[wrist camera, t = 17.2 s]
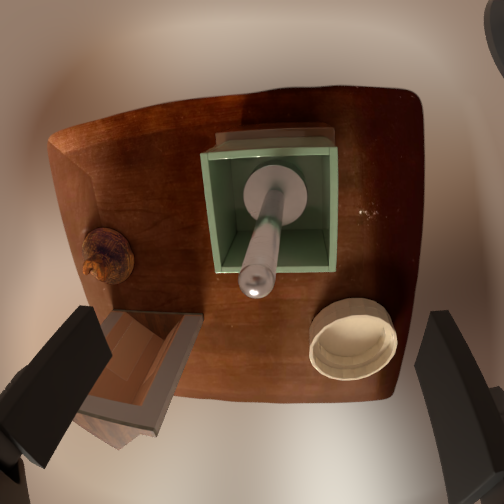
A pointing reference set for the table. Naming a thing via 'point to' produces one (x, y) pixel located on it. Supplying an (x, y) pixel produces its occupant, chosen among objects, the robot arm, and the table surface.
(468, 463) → the robot arm
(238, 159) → the utensil holder
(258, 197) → the rod with disc base
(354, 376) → the mixing bowl
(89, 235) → the bell
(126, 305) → the table surface
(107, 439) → the cabinet
